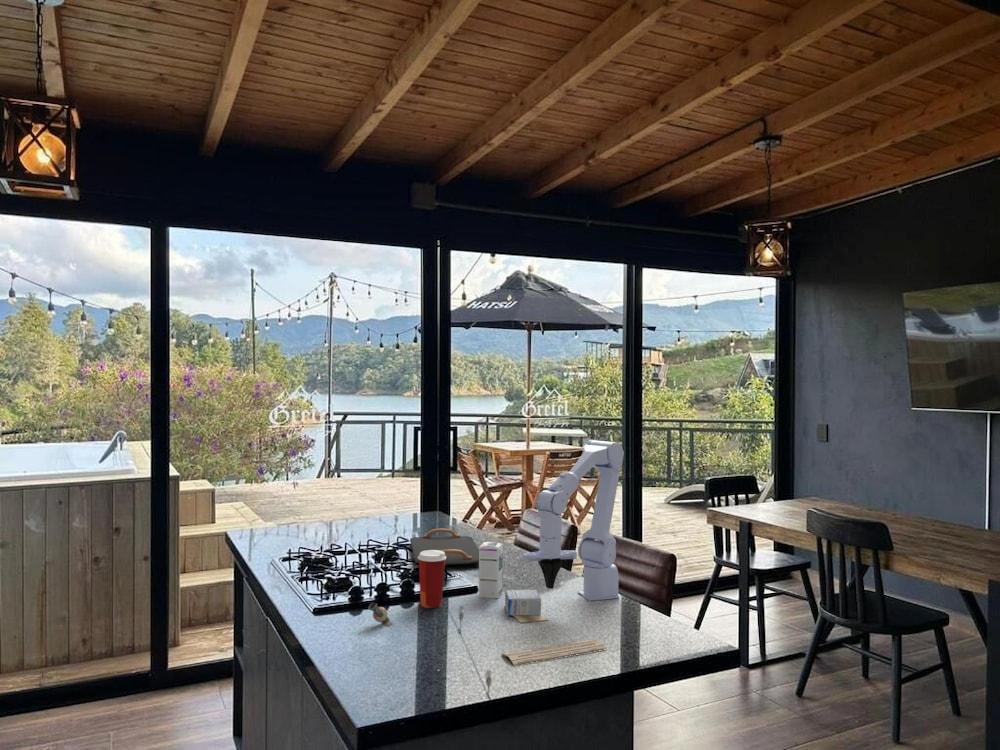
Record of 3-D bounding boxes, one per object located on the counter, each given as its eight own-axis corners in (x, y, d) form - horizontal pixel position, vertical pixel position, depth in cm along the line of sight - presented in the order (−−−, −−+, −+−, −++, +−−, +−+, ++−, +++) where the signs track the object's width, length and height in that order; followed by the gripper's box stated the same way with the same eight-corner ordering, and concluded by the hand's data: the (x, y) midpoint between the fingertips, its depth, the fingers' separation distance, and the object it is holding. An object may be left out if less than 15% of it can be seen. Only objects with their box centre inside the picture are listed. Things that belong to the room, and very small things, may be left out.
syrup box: (498, 599, 197) (499, 547, 197) (477, 597, 198) (478, 545, 198) (502, 593, 203) (503, 542, 203) (482, 591, 204) (483, 541, 204)
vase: (372, 631, 171) (371, 606, 171) (365, 625, 176) (364, 601, 176) (393, 627, 174) (393, 602, 174) (385, 622, 178) (385, 597, 179)
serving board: (487, 571, 227) (487, 551, 227) (414, 573, 223) (415, 553, 223) (470, 542, 265) (471, 525, 265) (408, 543, 261) (408, 526, 261)
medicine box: (536, 605, 191) (504, 606, 191) (537, 589, 191) (505, 589, 191) (541, 615, 183) (507, 616, 183) (541, 598, 183) (507, 598, 183)
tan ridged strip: (513, 669, 152) (513, 661, 152) (499, 657, 158) (499, 649, 158) (606, 653, 162) (606, 645, 162) (589, 642, 168) (589, 635, 168)
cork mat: (530, 604, 193) (530, 603, 193) (548, 620, 181) (548, 619, 181) (504, 606, 191) (504, 605, 191) (520, 623, 178) (520, 621, 178)
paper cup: (450, 602, 193) (451, 551, 193) (436, 611, 186) (437, 557, 186) (425, 598, 196) (426, 548, 196) (411, 606, 189) (412, 554, 189)
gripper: (569, 531, 194) (568, 581, 194) (519, 534, 189) (518, 585, 190) (580, 537, 187) (579, 588, 187) (528, 540, 183) (527, 593, 183)
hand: (549, 587), depth 188 cm, fingers closed
